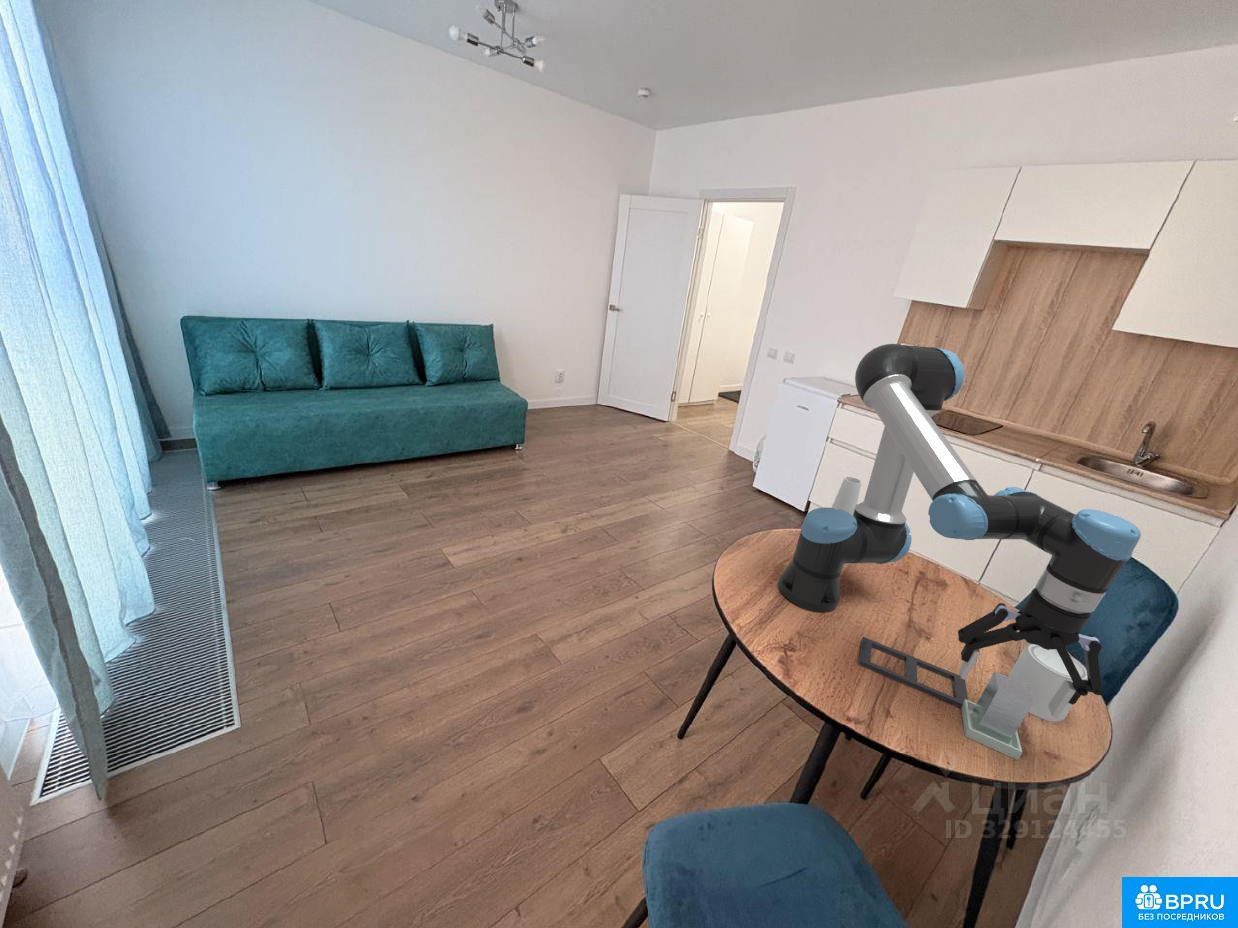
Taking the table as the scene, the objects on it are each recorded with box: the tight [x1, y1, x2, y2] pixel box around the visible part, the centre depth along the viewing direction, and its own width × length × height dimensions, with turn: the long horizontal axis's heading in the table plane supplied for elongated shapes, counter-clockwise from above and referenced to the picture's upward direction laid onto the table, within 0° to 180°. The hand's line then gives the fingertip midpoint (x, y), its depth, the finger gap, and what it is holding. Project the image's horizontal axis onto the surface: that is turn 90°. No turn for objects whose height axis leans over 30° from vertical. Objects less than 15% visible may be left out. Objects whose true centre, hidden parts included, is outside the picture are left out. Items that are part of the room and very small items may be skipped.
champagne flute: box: [830, 476, 862, 515], centre depth 142 cm, size 7×7×24 cm
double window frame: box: [858, 636, 969, 709], centre depth 101 cm, size 20×9×1 cm, turn 59°
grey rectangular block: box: [972, 670, 1033, 744], centre depth 87 cm, size 5×5×11 cm
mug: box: [1007, 642, 1088, 723], centre depth 97 cm, size 14×10×11 cm
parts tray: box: [960, 699, 1023, 761], centre depth 88 cm, size 8×8×2 cm
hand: (1005, 692), depth 86 cm, fingers open, 13 cm apart
